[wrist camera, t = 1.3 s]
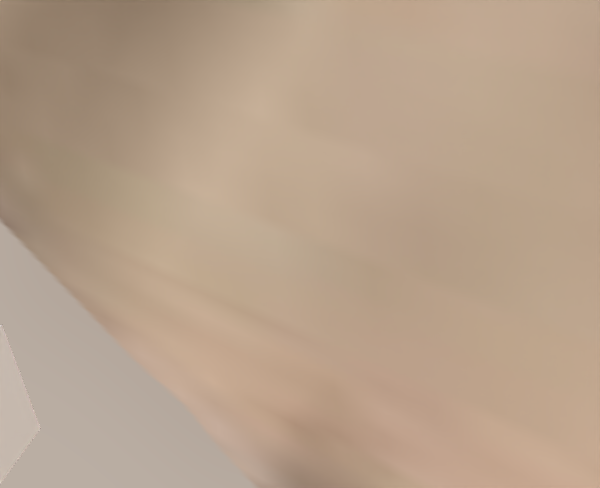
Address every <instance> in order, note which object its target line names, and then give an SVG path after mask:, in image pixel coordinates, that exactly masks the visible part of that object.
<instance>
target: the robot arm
mask: <svg viewBox="0 0 600 488" xmlns="http://www.w3.org/2000/svg"><path fill="white" fill-rule="evenodd" d="M40 429H41V428H40V425H39V423H38V420H37V417H36V414H35V412H34V409H33V406H32V404H31V401H30V398H29V396H28V393H27V390H26V387H25V385H24V382H23V379H22V377H21V374H20V371H19V369H18V366H17V363H16V360H15V358H14V355H13V352H12V349H11V347H10V344H9V341H8V339H7V336H6V333H5V330H4V328H3V325H0V484H1V483H2V481H3V480H4V478H5V477H6V476H7V474H8V473H9V471H10V470H11V469H12V467H13V466H14V464H15V463H16V462H17V460H18V459H19V458H20V456H21V455H22V454H23V452H24V451H25V449H26V448H27V447H28V445H29V444H30V443H31V441H32V440H33V438H34V437H35V436H36V434H37V433H38V431H39V430H40Z"/></svg>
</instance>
